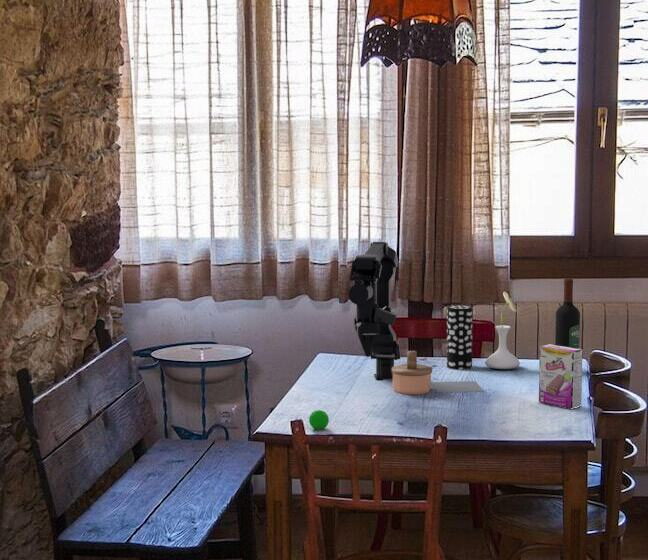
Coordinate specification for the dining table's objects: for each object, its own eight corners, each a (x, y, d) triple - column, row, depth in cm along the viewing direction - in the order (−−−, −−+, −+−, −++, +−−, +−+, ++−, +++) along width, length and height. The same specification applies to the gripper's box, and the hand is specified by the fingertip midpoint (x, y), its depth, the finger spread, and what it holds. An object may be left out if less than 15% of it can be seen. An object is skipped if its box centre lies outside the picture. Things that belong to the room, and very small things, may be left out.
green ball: (312, 425, 266) (312, 408, 265) (331, 427, 264) (330, 409, 264) (307, 430, 261) (306, 412, 260) (325, 432, 259) (325, 413, 259)
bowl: (391, 387, 309) (391, 368, 308) (427, 387, 309) (427, 367, 308) (395, 396, 298) (395, 376, 297) (432, 395, 298) (432, 375, 297)
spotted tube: (473, 369, 333) (474, 309, 330) (448, 369, 333) (448, 309, 330) (470, 364, 341) (470, 305, 338) (445, 364, 341) (445, 305, 339)
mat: (430, 383, 313) (430, 381, 313) (475, 382, 314) (475, 381, 314) (437, 393, 300) (437, 392, 300) (484, 392, 300) (484, 391, 300)
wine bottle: (560, 368, 333) (562, 277, 330) (582, 371, 329) (584, 278, 325) (550, 372, 327) (552, 279, 324) (573, 375, 323) (575, 281, 319)
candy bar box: (537, 403, 287) (538, 346, 285) (547, 400, 291) (548, 343, 289) (572, 410, 279) (573, 351, 277) (582, 407, 283) (583, 348, 281)
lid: (389, 367, 308) (389, 348, 308) (429, 367, 309) (429, 347, 308) (394, 376, 296) (394, 356, 296) (435, 375, 297) (435, 355, 296)
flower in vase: (517, 372, 327) (518, 295, 324) (481, 370, 331) (482, 294, 328) (523, 364, 340) (524, 290, 337) (488, 362, 343) (489, 289, 340)
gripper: (398, 304, 283) (398, 359, 285) (390, 295, 302) (390, 346, 304) (358, 304, 283) (358, 360, 285) (353, 295, 301) (353, 347, 303)
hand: (366, 353), depth 294 cm, fingers open, 9 cm apart
